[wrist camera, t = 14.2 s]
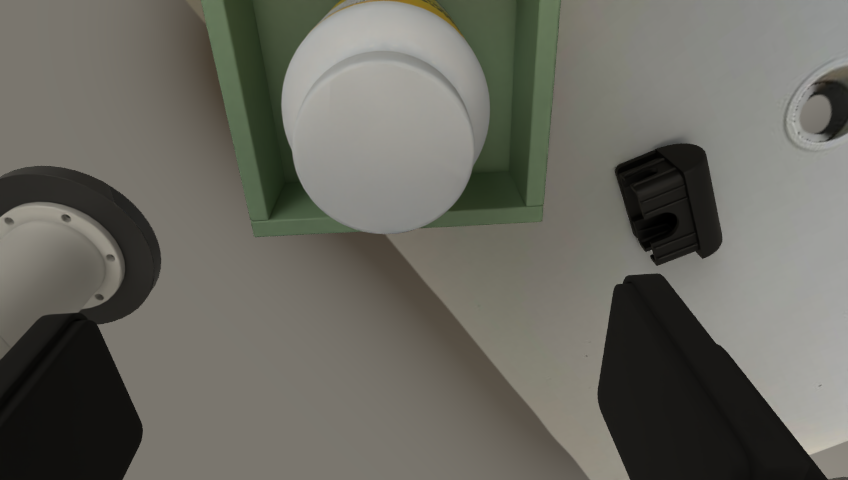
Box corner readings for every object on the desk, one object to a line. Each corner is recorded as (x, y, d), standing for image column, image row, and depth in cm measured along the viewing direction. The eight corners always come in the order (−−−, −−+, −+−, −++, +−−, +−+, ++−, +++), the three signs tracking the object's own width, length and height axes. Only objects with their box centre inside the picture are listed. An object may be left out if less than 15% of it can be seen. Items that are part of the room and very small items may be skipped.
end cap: (700, 215, 57) (735, 247, 51) (635, 240, 58) (662, 275, 52) (682, 133, 52) (719, 158, 46) (612, 162, 53) (639, 191, 47)
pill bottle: (462, 128, 25) (507, 259, 15) (326, 135, 25) (279, 272, 15) (462, -24, 22) (519, 13, 12) (305, -17, 22) (228, 27, 12)
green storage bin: (274, 192, 27) (253, 238, 23) (217, -101, 21) (175, -109, 17) (521, 180, 27) (542, 222, 23) (539, -115, 21) (572, -125, 17)
